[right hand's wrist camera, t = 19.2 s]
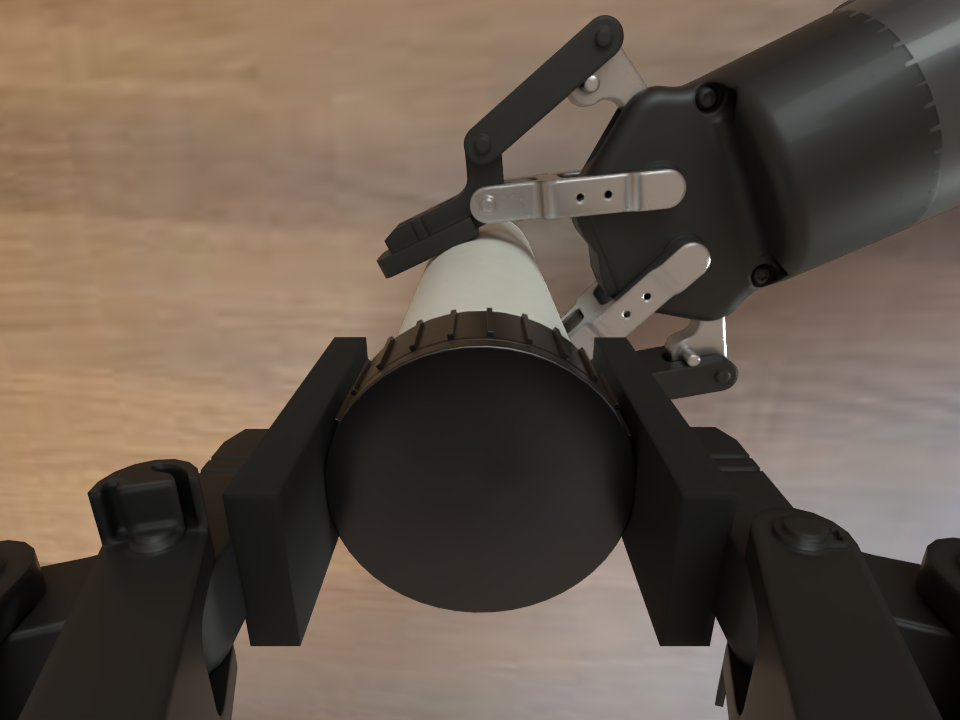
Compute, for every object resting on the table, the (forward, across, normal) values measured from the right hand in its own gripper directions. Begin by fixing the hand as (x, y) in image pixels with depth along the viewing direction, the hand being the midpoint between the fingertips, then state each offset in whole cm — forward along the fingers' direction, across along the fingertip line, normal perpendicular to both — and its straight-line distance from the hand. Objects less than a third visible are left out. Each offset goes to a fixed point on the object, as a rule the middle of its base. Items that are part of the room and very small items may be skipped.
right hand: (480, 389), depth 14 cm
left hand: (+8, -2, -1) cm, 8 cm away
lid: (-4, 0, 0) cm, 4 cm away
